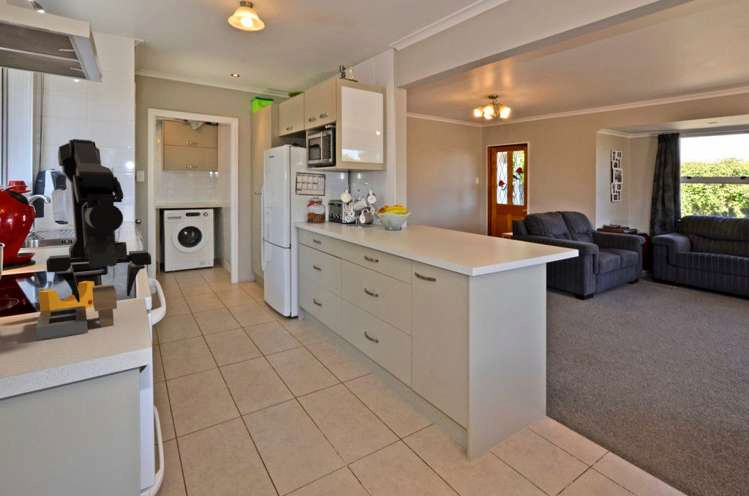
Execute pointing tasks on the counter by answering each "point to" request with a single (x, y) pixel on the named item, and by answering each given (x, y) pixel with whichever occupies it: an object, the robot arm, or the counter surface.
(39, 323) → the rail plate
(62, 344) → the counter surface
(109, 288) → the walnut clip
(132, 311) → the counter surface
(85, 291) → the pipe clamp
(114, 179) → the robot arm
